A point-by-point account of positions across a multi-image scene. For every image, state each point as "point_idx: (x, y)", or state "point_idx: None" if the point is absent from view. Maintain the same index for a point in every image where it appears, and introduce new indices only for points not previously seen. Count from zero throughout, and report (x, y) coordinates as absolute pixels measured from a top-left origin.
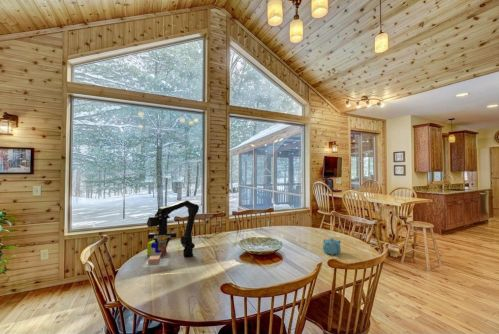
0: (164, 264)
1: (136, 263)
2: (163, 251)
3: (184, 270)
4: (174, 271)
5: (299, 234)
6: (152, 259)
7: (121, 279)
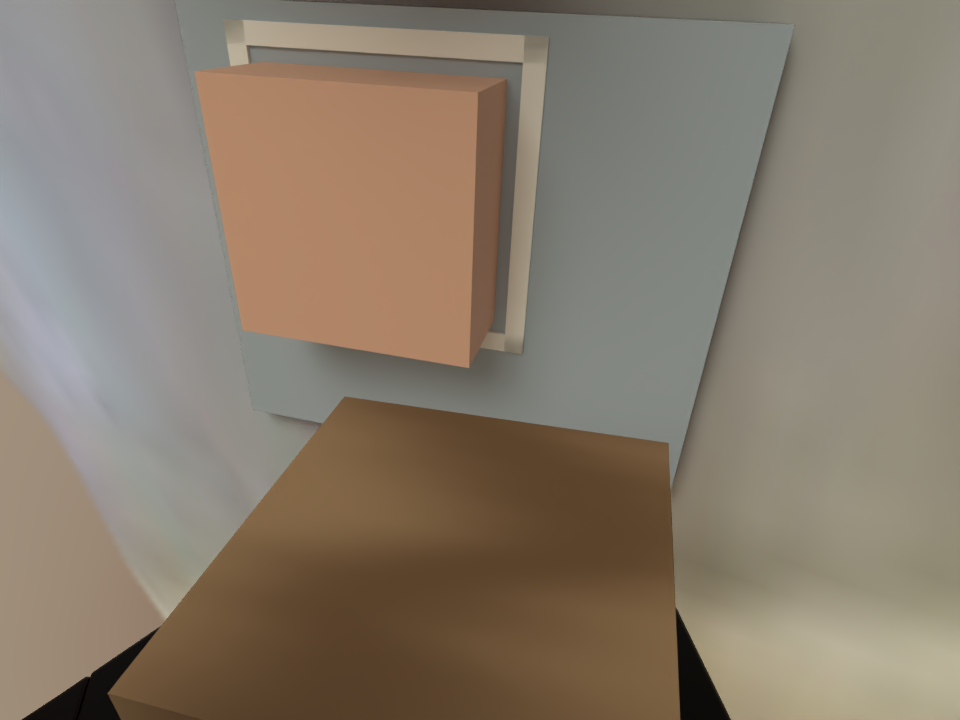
0: (612, 419)
1: (62, 121)
2: None
3: (937, 690)
4: (762, 654)
5: None
6: (332, 342)
7: (159, 578)
